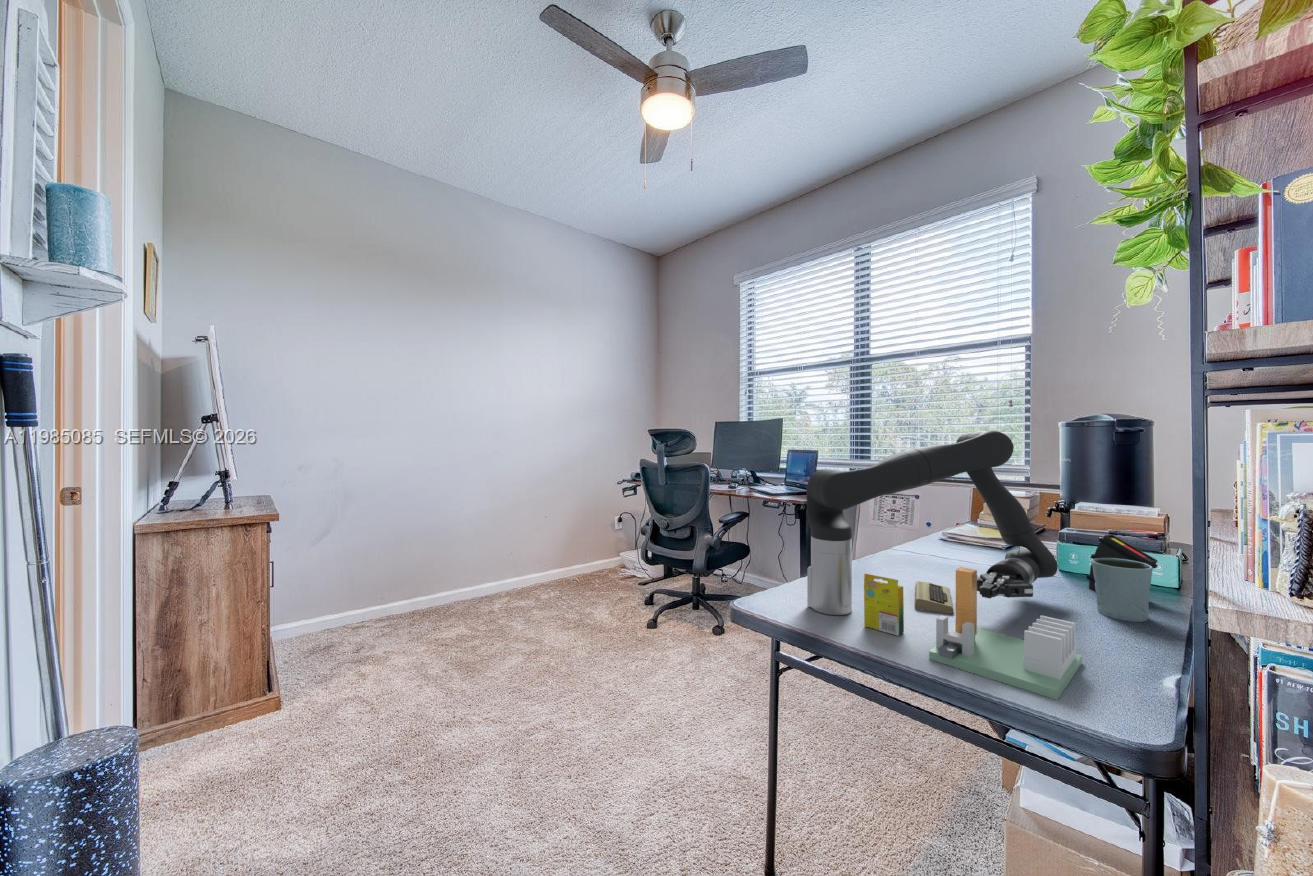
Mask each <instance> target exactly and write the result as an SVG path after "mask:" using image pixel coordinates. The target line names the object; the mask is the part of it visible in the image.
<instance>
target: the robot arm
mask: <svg viewBox="0 0 1313 876" xmlns="http://www.w3.org/2000/svg"><path fill="white" fill-rule="evenodd" d="M1014 450H1015V449H1014V443H1013V441H1012V439H1011V438H1010V437H1009V436H1008V435H1007V434H1005V433H1004V432H1001V431H997V430H991V429H988V430H980V431H969V432H965V433H963V434H961V435H960V436H959V437H958V438H957V439H956V442H955V443H946V444H935V445H927V446H922V447H921V446H920V447H916V448H910V449H905V450H903V451H899V452H896V453H893V454H891V455H888V456H887V457H885V458H883V459H882V460H881V461H879V462H877V463H876V464H874V465H872V466H868V467H863V468H859V469H852V470H835V469H827V468H822V469H818V470H816V471H815V472H813V473H812V474H811V475H810V477H809V478H808V481H807V485H806V510H807V511H806V512H807V513H806V515H807V523H808V525H809V528H810V566H808V567H807V569H806V570H807V571H806V573H807V576H806V577H807V578H806V579H807V580H806V581H807V591H806V592H807V594H806V595H807V599H806V600H807V603H806V604H807V605H806V606H807V607H809V608H811V609H812V610H814V611H816V612H817V613H820V614H825V615H829V616H830V615H831V616H843V615H849V614H850V613H852V611H853V601H852V599H853V598H852V597H853V596H852V595H853V587H852V586H853V574H852V573H853V571H852V570H853V567H852V566H853V549H852V547H853V541H852V540H853V538H852V537H853V532H852V527H851V525H850V524H849V522H848V521H847V520H846V518H845V515H844V511H845V510H848V509H850V508H853V507H855V506H859V505H860V504H863V503H865V502H867V501H870V500H873V499H876V498H878V497H882V496H886V495H891V494H892V495H893V494H895V493H900V492H901V493H902V492H904V491H909V490H913V489H916V488H921V487H923V486H927V485H930V484H933V483H937V482H940V481H942V480H945V479H948V478H951V477H955V476H957V475H960V474H963V473H966V474H967V475H968V477H969V478H970V480H971V481H972V483H973V484H974V486H975V488H976V490H977V491H978V493H979V494H980V496H981V497H982V499H983V501H984V503H985V504H986V506H987V508H988V510H989V512H990V514H991V515H992V518H993V520H994V522H995V525H996V528H997V530H998V533H999V534H1000V536H1001V539H1002V541H1003V542H1004V543H1005V544H1007V545H1009V546H1014V547H1022V548H1025V549H1018V550H1012V551H1009V552H1007V553H1005V555H1004V559H1002V560H1000V561H998V562H996V563H994V564H993V565H992V566H990V567H989V568H988V569H987V570H986V572H985V573H981V574H980V575H979V576H978V574H977V592H979V595H981V597H982V598H985V599H992V598H995V597H1004V598H1033V597H1034V584H1033V583H1034V582H1036V581H1037V580H1038V579H1041V578H1042V579H1043V578H1044V579H1045V578H1053V577H1054V576H1055V575H1056V574H1057V572H1058V569H1059V567H1058V562H1057V559H1056V557H1055V556H1054V555H1053V553H1052V552H1051V551H1050V550H1049V549H1048V547H1047V545H1046V544H1044V543H1043V541H1042V540H1041V539H1040V537H1039V536H1038V535H1037V533H1036V532H1035V530H1034V528H1033V526H1032V523H1031V520H1030V518H1029V515H1028V514H1027V512H1026V510H1025V509H1024V506H1023V505H1022V503H1020V501H1019V500H1018V499H1017V498H1016V497H1015V495H1013V494H1012V493H1011V492H1010V491H1009V490H1008V489H1007V488H1006V487H1005V485H1004V484H1003V483H1002V482H1001V481H1000V479H999V478H998V477H997V475H996V474H995V472H994V469H993V468H997V467H998V468H999V467H1001V466H1003V465H1005V464H1007V462H1008V461H1009V460H1010V459H1011V457H1012V456H1013V454H1014Z"/></svg>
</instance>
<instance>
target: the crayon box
mask: <svg viewBox="0 0 1313 876" xmlns="http://www.w3.org/2000/svg"><path fill="white" fill-rule="evenodd" d="M863 578H864V580H863V581H864V582H863V583H864V584H863V597H864V598H863V602H864V604H863V607H864V609H863V613H864V614H863V616H864V618H863V619H864V620H863V621H864V623H863V624H864V627H865V628H869V627H870V629H872V628H873V629H872V630H877V631H880V632H884V633H888V634H891V635H894V636H897V637H899V636H901V635H902V634H903V633H904V632H905V626H904V623H905V620H904V619H905V615H904V614H905V613H904V610H905V609H904V608H905V607H904V606H905V605H904V604H905V603H904V602H905V601H904V586H902V585H899V580H898V579H896V578H895V579H894V578H891V577H884V576H880V575H879V576H878V575H874V574H869V573H864V577H863ZM877 580H882V581H884V582H882V581H877ZM900 634H901V635H900Z"/></svg>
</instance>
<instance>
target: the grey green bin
mask: <svg viewBox="0 0 1313 876" xmlns="http://www.w3.org/2000/svg"><path fill="white" fill-rule="evenodd" d="M1091 564H1092V566H1093V573H1094V580H1095V582H1096V583H1095V589H1096V590H1095V594H1096V609H1097V612H1098V613H1099V614H1101V615H1103V616H1106V617H1108V618H1112V619H1115V620H1119V621H1126V622H1133V623H1134V622H1135V623H1140V622H1141V623H1142V622H1143V623H1144V622H1147V621H1148V620H1149V610H1150V608H1149V605H1150V604H1149V603H1150V597H1151V591H1150V588H1151V585H1152V576H1153V569H1154V568H1153V567H1152V566H1150V565H1148V564H1146V563H1142V562H1138V561H1132V560H1126V559H1117V558H1095V559H1091ZM1152 568H1153V569H1152Z"/></svg>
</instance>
